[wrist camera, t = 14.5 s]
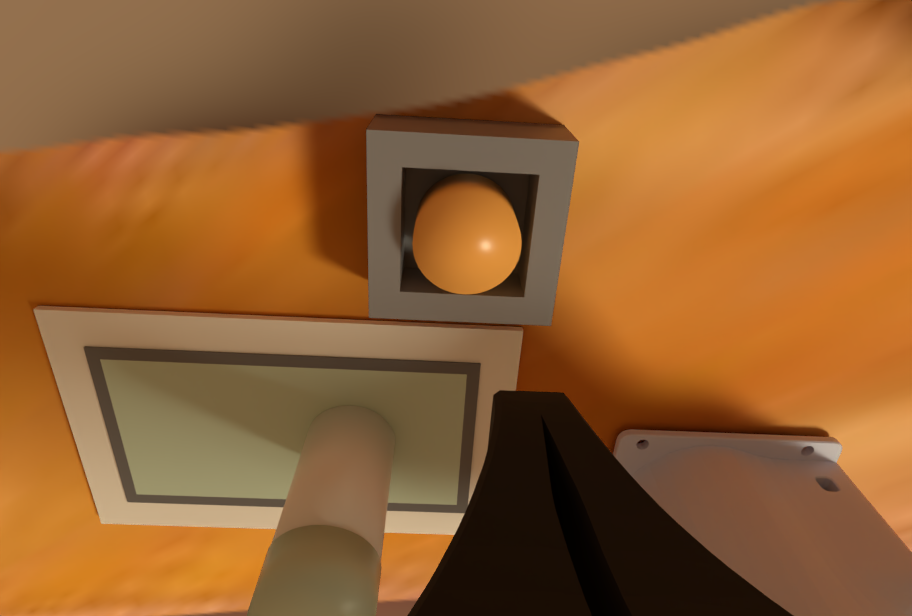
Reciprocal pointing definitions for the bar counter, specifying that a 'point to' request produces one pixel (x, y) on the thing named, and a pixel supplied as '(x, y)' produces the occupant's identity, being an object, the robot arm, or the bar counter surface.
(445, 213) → the button
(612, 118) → the bar counter surface
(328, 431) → the cylinder
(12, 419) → the bar counter surface
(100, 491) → the picture sheet
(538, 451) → the robot arm
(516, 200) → the button housing
